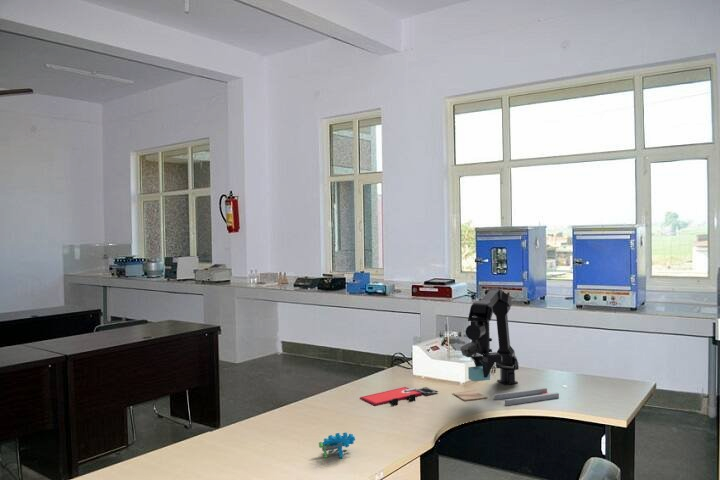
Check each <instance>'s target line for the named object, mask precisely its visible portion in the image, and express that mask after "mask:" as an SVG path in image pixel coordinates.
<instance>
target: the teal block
mask: <svg viewBox="0 0 720 480" xmlns="http://www.w3.org/2000/svg"><path fill="white" fill-rule="evenodd" d="M467 371H468V380H470V381H472V382H475V383H476V382H480V381H481V382H484V381H489V380H491V371H490V372H489V375H488V377H487V378H485V377H484V373H483V366H475V365H474V366H468V370H467Z"/></svg>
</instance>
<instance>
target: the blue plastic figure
mask: <svg viewBox="0 0 720 480" xmlns="http://www.w3.org/2000/svg"><path fill="white" fill-rule="evenodd" d="M327 437H328V438H323V442H322V441H320V442H318V447H319V448H321V450H322V452H323V454H324V459H327V458H328V453H327V452H328V451H334V450H337V451H338V456H339V459H341V458H343V457H344V455H343V447H345V448H348V447H350V445H353V444H354V441H356V437H355V436H354V434H353V433H349V434H348V432H343V433H342V435H341V434H340V432H337V433H334V435H332V434H330V435H328V436H327Z"/></svg>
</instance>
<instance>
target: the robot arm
mask: <svg viewBox="0 0 720 480" xmlns="http://www.w3.org/2000/svg"><path fill="white" fill-rule="evenodd" d="M511 306H512V298H511V297H510V295H509V294H508V293H506V292H505V291H503V289H500V288H489V289H488V290H487V293H486V294H485V295H484V296H483V298H482V299H480V300H479V299H478V300H476V301H474V302H473V303H472V304H471V305H470V309H469V313H468V318H467V321H468V322H470V324H469V325H468V326H467V327H466V328H465V335H466V337H467V338H468V339H469V340H470V342H468V343H466V344H464V345H462V346H460V347H459V349H460V352H461V354H462V356H463V357H466V358H470V359H471V360H472V361H473V363H474V367H475V366H483V373H484V377H485V378H487V377H488V375H489V372H490V373H491V370H492V369H493V367H494V364H495V368H496V369H499V375H500V377H499V378H500V379H497V380H496V381H497V382H499V383H500V384H502V385H505V386H507V385H514V384H518V383H519V382H518V381H517V380H516V372H515V371H516V370H517V371H518V370H519V368H520V367H519V361H518V359H517V356H516V354H515V353H516V352H515V350H514V348H513V347H512V346H511V342H510V330H509V320H508V313H509V311H510V310H511ZM493 315H495V318H496V319H495V321H496V328H497V330H496V331H497V340H498V349H497V351H496V352H495V351H493V348H491V343H490V342H492V341H493V338H491V337H490V333H491V332H490V321H491V320H492V317H493Z"/></svg>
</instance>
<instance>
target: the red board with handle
mask: <svg viewBox="0 0 720 480" xmlns="http://www.w3.org/2000/svg"><path fill="white" fill-rule="evenodd" d="M438 392H440V391H438V390H435V389H433V388H430V387H426V386H425V387H420V388H415V387H412V388H409V387H406V386H402V387H398V388H395V389H394V388H393V389H390V390H386V391H382V392H377V393H372V394H369V395H364V396H360V397H359V399H360V400H362V401H364V402H366V403H369V404H371V405H373V406H375V407H377V406H378V407H379V406H381V405H385V404H392V405H393V406H398V405H399V401H403V400H407V399H409V401H410V402H415V401H416V397H419V396H422V394H423V395H430V394H436V393H438Z"/></svg>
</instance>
